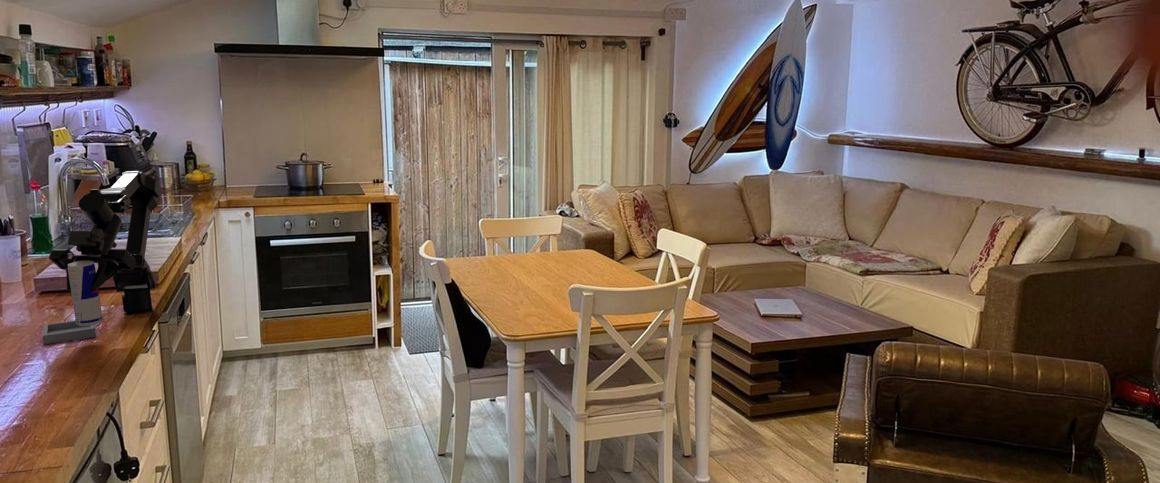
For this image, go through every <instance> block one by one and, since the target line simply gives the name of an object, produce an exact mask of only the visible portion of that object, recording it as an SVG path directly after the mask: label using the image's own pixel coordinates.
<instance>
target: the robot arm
mask: <svg viewBox="0 0 1160 483" xmlns="http://www.w3.org/2000/svg"><path fill="white" fill-rule="evenodd" d="M162 195H163V190H162V186H161V185H160V183H159V181H157V179H155V178H153V177H151V176H148V175H146V174H145V172H144V171H142V170H127V171H126V170H125V171H123V172H122V173H121V176H120V177H119V178H118V179H117V180H116V181H115V183H113V185H112V186H110V187H109V188H104V189H98V188H96V189H89V192H88V193H86V194H85V195H83V196H82V197H81V198H80V199H79V201H78V206H79V209H80V211H81V212H82V213H83V214H84V216H85V218H86V219H87V221H89V223H91V224H92V226H91V229H90V230H88V231H87V230H69V232H68V237H67V238H68V239H67V243H66V244H67V245H68V246H74V247H75V249H76V251H77V252H80V254H75V253H73V252H72V251H71V250H70V249H69V248H55V249H52V250H51V251H50V252H49V255H48V259H49V260H50V261H51V262H52V263H53V264H55V266H56V267H58V268H59V269H60V270H63V271H65V273H66V276H65V277H66V289H67V291H69V292H71V287H70V281H69V274H68V264H70V263H73V262H78V261H93V262H94V264H97V269H96V274H95V277H94V279H93V282H92V285H91V290H92V291H95V290H96V289H98V290H99V288H100V287H102V286H103V285H104V283H106V282H107V281H109V280H110V279H111V278H113V283H114V286H115V289H116V292H117V293H120V292H123V294H122V295H121V301H122V302H121V303H122V309H123V312H124V313H125V315H126V316H131V315H138V314H145V313H151V312H152V313H153V312H154V308H153V301H152V295H151V290H153V289H156V288H157V280H156V279H157V278H156V277H155V275H154V274H153V272H152V270H151V266H150V265H149V263H148V261H147V260H146V256H145V255H146V250H147V241H148V235H149V234H148V233H149V228H150V219H151V213H152V212H153V211H154V210H155V209H156V208H157V207H158V206H159V202H160V199H161V197H162ZM130 206H131V212H130V218H129V226H128V232H127V237H126V238H127V240H126V247H125V249H124V248H116V247H118V246H117V245H118V244H117V243H116V241H115V240H116V238H117V235H118V233H119V230H124V224H123V221H122V219H121V217H120V216H119V215H118V214H125V213H126V212H127V211H128V210H129V209H130Z"/></svg>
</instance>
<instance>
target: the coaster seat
mask: <svg viewBox="0 0 1160 483" xmlns="http://www.w3.org/2000/svg"><path fill="white" fill-rule="evenodd" d="M96 334H97V332H96V324H95V325H90V326H80V325H77V324H76V320H74V319H73V320H68V321H60V322H52V323H46V324H44V326H43V331H42V339H43V345H47V344H48V345H49V344H54V343H62V342H68V341H74V340H81V339H87V338H88V339H89V338H94V337H96V336H97V335H96Z"/></svg>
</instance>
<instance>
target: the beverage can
mask: <svg viewBox="0 0 1160 483" xmlns="http://www.w3.org/2000/svg"><path fill="white" fill-rule="evenodd" d="M96 272H97V269H96V265H95V263H94V262H93V261H78V262H73V263H70V264H68V274H69V281H70V287H71V291H70V292H71V300H72V307H73V311H74V318H75V320H76V324H77V325H80V326H90V325H95V326H96V325H97V324H100V323H101V322H103V320H104V318H103V311H102V306H101V304H102V303H101V296H100V292H99V288H98V289H96V290H95V291H92V290H91V285H92V282H93V279H94V277H95V274H96Z"/></svg>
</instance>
